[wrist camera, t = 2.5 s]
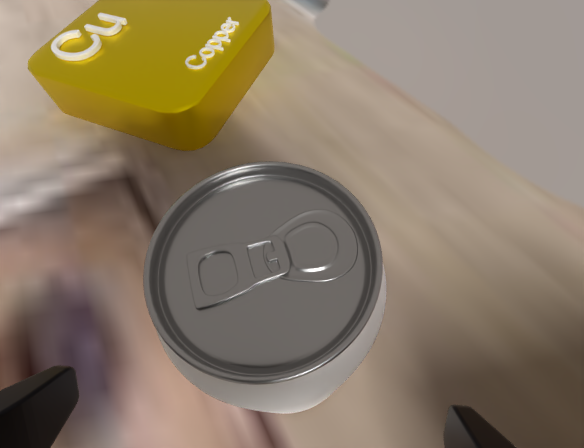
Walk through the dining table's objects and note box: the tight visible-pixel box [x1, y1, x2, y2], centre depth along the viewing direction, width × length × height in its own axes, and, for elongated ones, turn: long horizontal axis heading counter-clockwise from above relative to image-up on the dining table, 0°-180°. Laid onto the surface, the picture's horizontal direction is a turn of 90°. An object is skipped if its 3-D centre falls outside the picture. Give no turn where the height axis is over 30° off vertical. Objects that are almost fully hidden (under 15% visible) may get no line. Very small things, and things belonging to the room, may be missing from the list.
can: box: [143, 162, 386, 413], centre depth 13 cm, size 6×6×12 cm
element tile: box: [28, 0, 274, 151], centre depth 29 cm, size 15×15×5 cm
